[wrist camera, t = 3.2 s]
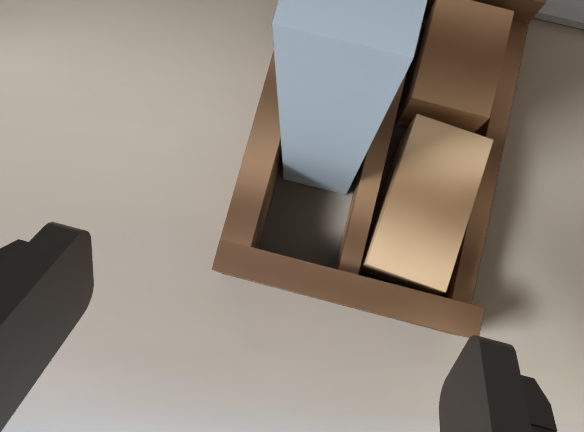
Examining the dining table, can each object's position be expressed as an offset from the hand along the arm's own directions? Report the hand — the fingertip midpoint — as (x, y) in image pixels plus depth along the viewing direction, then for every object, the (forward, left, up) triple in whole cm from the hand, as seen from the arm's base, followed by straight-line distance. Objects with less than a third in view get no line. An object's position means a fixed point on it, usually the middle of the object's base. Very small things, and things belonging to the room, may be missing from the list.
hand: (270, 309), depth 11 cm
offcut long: (+3, +8, -18) cm, 20 cm away
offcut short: (0, +16, -18) cm, 24 cm away
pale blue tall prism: (-4, +10, -18) cm, 21 cm away
